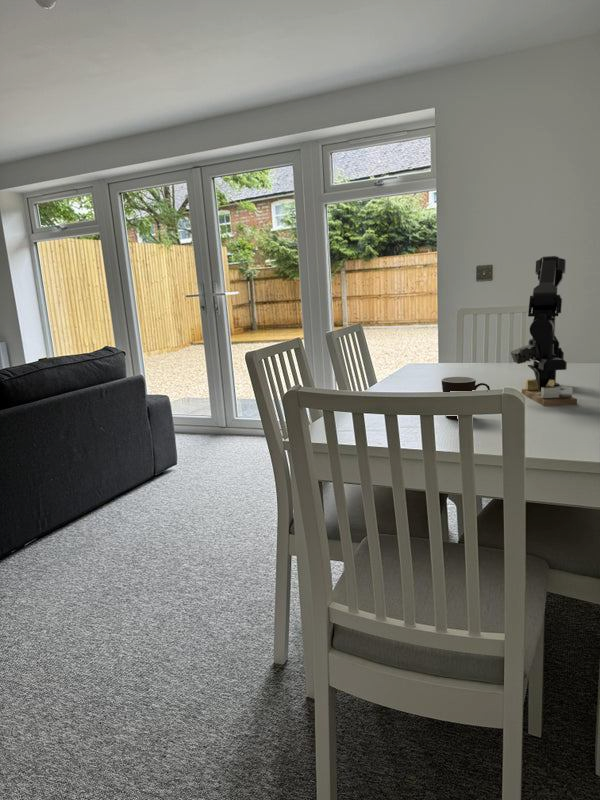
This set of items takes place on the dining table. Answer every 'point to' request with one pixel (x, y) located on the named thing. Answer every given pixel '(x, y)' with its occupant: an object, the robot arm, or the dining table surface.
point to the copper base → (537, 397)
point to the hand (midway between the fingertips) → (541, 390)
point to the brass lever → (533, 385)
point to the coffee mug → (459, 386)
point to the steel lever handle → (556, 392)
